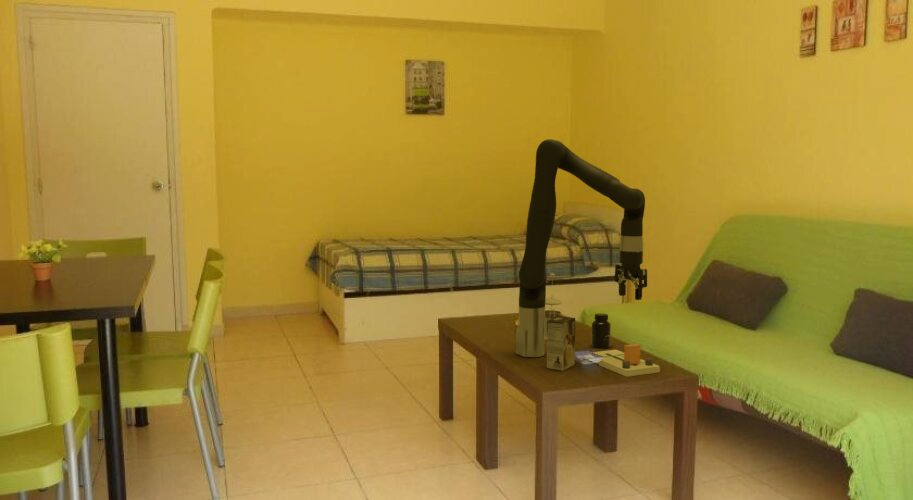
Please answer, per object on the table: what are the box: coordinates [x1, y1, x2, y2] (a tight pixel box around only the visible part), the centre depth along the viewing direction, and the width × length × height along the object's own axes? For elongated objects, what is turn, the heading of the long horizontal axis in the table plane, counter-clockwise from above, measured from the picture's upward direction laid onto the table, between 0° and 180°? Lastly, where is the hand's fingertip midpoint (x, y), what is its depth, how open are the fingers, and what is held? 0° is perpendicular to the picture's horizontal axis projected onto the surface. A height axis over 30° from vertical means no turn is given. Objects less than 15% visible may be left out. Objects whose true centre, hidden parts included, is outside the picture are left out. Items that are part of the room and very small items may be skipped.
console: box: [593, 349, 661, 378], centre depth 258 cm, size 13×24×4 cm, turn 24°
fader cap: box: [623, 343, 641, 365], centre depth 252 cm, size 4×3×6 cm, turn 114°
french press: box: [545, 272, 563, 340], centre depth 297 cm, size 10×12×25 cm
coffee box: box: [546, 315, 576, 372], centre depth 256 cm, size 9×6×16 cm
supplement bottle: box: [590, 312, 611, 349], centre depth 284 cm, size 7×7×12 cm
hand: (630, 297), depth 257 cm, fingers open, 8 cm apart
